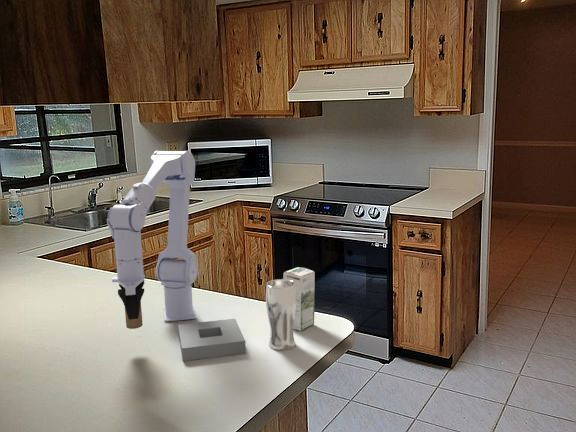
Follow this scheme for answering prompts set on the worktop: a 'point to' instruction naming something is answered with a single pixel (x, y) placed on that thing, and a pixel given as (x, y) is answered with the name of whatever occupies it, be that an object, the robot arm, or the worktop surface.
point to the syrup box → (303, 296)
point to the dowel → (134, 321)
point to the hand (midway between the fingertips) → (133, 315)
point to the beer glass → (281, 313)
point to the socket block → (210, 339)
